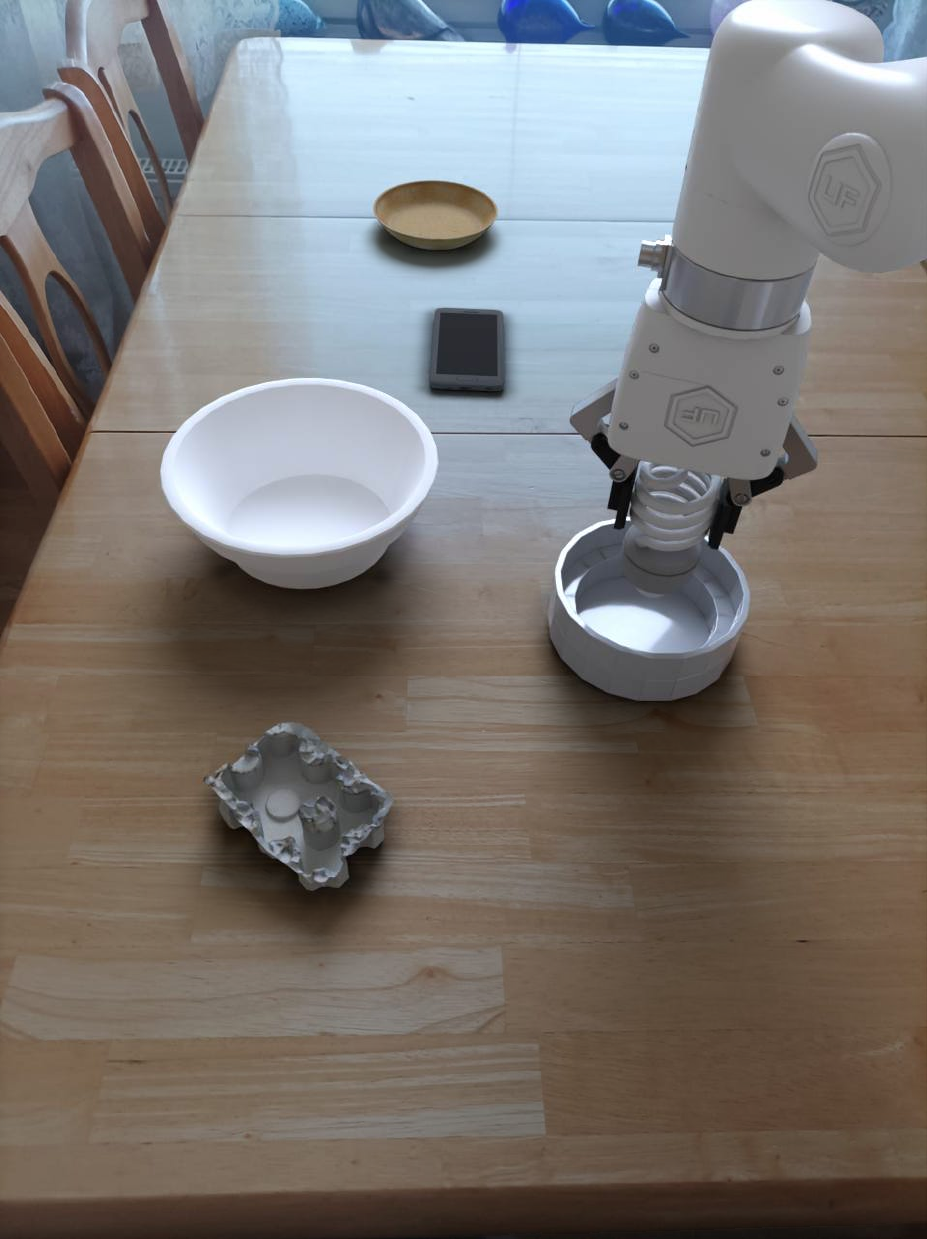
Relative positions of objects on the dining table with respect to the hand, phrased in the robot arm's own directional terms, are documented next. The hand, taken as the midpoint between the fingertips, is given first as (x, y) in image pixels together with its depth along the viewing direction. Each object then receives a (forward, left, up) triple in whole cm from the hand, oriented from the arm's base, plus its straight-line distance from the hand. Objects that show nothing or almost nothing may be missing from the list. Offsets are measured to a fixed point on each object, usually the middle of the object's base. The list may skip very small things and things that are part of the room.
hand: (668, 523), depth 63 cm
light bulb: (0, 0, -7) cm, 7 cm away
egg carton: (+10, +27, -12) cm, 31 cm away
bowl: (+27, +7, -12) cm, 30 cm away
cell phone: (+32, -23, -11) cm, 41 cm away
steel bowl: (0, 0, -11) cm, 11 cm away
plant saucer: (+50, -42, -12) cm, 66 cm away
